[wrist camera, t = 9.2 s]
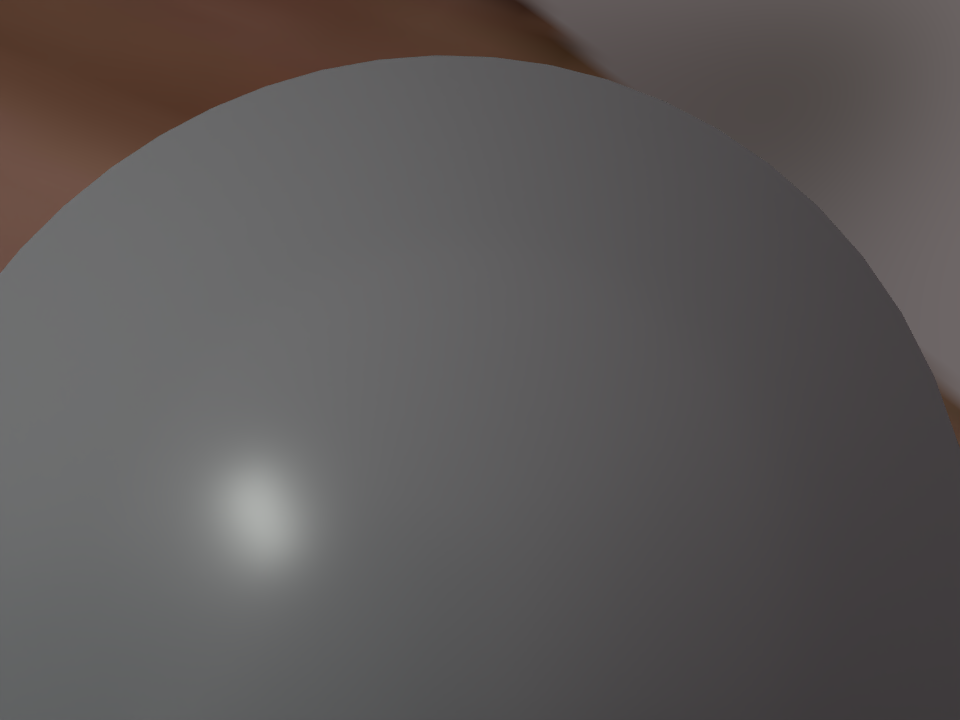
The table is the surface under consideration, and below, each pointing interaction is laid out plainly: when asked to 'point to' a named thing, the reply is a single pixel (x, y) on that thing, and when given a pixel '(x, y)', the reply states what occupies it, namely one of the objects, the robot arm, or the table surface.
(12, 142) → the table surface
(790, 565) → the canister
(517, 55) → the table surface
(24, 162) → the table surface
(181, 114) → the table surface
